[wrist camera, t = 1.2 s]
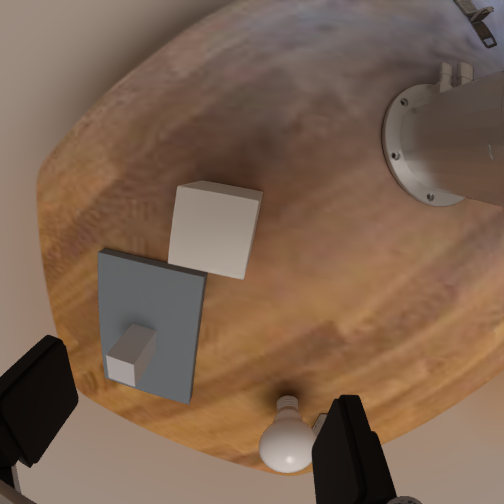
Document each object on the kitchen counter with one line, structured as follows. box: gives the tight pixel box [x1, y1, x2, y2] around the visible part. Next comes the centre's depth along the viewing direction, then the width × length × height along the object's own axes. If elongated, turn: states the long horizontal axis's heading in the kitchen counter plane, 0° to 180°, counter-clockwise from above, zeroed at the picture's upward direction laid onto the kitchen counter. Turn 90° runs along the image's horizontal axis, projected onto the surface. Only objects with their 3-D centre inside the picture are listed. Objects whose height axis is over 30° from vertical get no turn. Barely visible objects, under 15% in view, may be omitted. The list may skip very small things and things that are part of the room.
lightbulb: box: [259, 396, 317, 473], centre depth 29 cm, size 6×6×11 cm
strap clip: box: [453, 0, 497, 48], centre depth 17 cm, size 8×3×4 cm, turn 33°
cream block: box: [168, 180, 263, 280], centre depth 25 cm, size 6×6×8 cm
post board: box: [98, 248, 208, 404], centre depth 29 cm, size 18×12×8 cm, turn 169°
